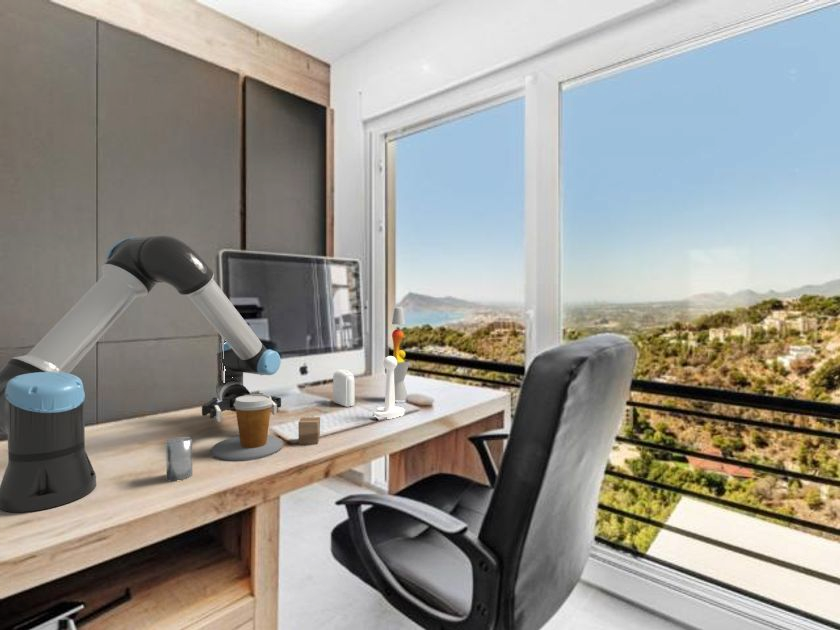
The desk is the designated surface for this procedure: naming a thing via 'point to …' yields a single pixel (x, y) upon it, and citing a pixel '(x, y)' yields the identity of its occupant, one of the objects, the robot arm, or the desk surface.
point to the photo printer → (344, 388)
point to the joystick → (389, 392)
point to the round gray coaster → (245, 449)
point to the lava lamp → (399, 356)
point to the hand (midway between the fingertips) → (248, 413)
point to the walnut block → (309, 430)
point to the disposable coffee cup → (253, 419)
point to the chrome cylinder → (179, 458)
